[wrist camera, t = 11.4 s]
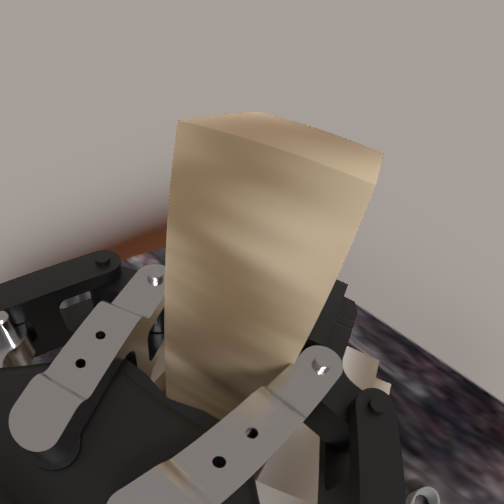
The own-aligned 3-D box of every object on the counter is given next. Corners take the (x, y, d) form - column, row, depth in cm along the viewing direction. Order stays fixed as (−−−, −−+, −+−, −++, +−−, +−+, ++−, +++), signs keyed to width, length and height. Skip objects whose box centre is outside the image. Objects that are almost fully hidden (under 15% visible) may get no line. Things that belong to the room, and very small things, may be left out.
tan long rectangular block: (273, 397, 16) (384, 150, 8) (235, 460, 12) (375, 185, 5) (213, 365, 17) (267, 111, 9) (167, 421, 13) (177, 120, 6)
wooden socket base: (381, 393, 21) (419, 352, 18) (298, 605, 7) (342, 621, 3) (171, 290, 26) (173, 238, 23) (16, 428, 12) (-24, 386, 9)
